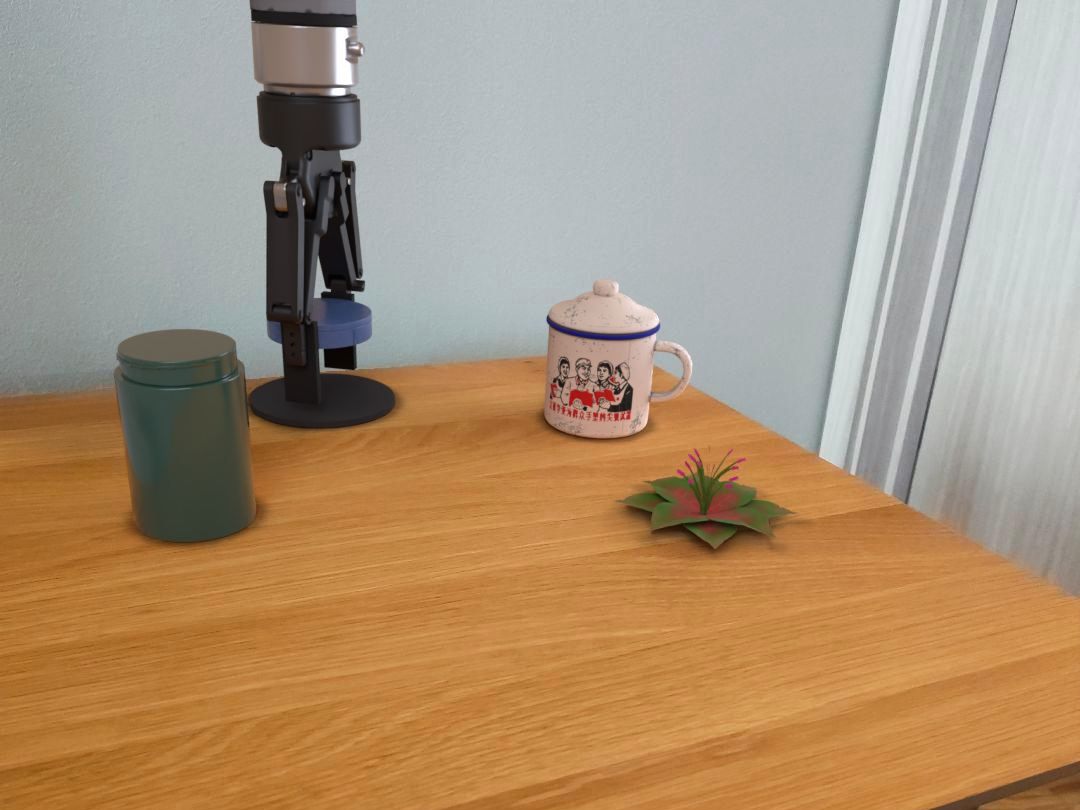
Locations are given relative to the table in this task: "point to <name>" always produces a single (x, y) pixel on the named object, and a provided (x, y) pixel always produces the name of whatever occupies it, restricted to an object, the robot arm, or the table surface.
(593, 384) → the teacup with lid
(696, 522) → the lily flower
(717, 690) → the table surface
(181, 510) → the jar
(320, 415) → the coaster
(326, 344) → the jar lid
